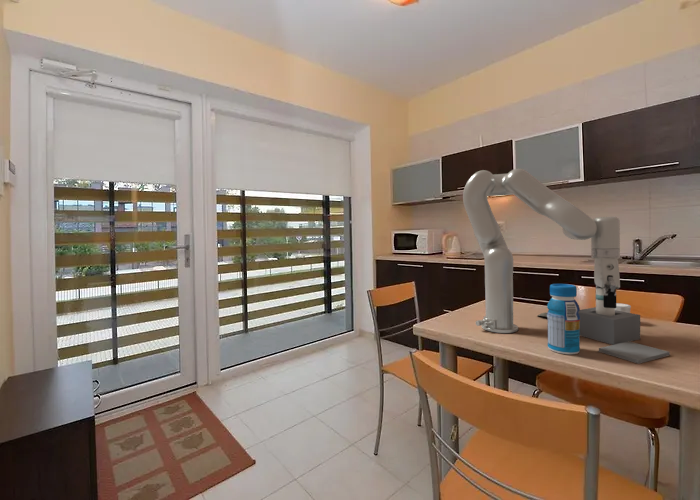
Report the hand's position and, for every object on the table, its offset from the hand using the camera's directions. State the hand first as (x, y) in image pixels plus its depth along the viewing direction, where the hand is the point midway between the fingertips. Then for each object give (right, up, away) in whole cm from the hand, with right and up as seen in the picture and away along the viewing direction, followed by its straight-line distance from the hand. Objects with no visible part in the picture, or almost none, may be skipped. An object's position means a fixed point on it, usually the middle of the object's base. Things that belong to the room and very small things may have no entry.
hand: (605, 304), depth 107 cm
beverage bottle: (-21, -12, -10) cm, 27 cm away
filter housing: (0, -11, +1) cm, 11 cm away
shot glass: (+17, -10, +15) cm, 25 cm away
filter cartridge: (0, -9, 0) cm, 9 cm away
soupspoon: (-4, -11, +19) cm, 22 cm away
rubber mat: (-4, -12, -15) cm, 19 cm away
